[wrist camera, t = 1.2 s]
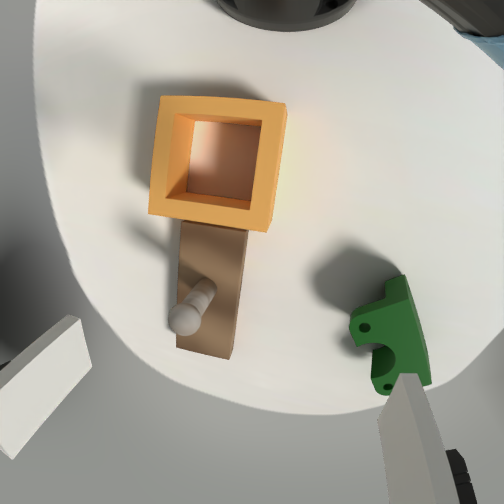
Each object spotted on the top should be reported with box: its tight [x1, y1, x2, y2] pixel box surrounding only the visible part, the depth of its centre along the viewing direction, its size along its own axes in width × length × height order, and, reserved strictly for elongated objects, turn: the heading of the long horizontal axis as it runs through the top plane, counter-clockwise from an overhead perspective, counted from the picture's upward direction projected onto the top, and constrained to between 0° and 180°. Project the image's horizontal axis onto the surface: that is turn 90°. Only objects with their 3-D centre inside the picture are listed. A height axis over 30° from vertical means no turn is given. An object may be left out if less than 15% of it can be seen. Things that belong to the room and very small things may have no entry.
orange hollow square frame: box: [148, 96, 287, 233], centre depth 25 cm, size 10×10×5 cm
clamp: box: [349, 274, 432, 396], centre depth 27 cm, size 12×6×9 cm, turn 23°
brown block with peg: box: [168, 220, 249, 360], centre depth 26 cm, size 14×6×10 cm, turn 172°
